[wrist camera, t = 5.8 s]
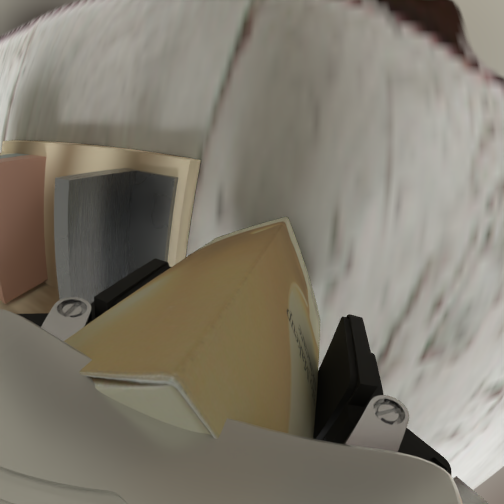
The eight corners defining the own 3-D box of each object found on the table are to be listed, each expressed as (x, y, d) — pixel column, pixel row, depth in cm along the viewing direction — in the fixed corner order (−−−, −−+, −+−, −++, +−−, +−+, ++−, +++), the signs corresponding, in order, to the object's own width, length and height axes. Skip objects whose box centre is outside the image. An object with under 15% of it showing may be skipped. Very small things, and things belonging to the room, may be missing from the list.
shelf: (201, 160, 15) (50, 173, 6) (176, 345, 20) (98, 451, 10) (14, 140, 18) (-77, 154, 8) (16, 267, 22) (-57, 306, 13)
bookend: (178, 177, 14) (113, 189, 9) (162, 332, 18) (117, 384, 13) (126, 167, 15) (55, 177, 10) (119, 314, 18) (70, 357, 13)
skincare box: (322, 320, 15) (308, 547, 4) (250, 336, 17) (164, 529, 5) (287, 207, 14) (171, 380, 3) (209, 233, 15) (13, 374, 4)
